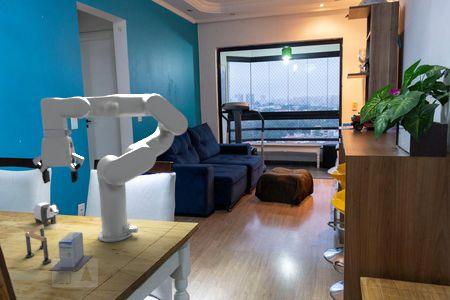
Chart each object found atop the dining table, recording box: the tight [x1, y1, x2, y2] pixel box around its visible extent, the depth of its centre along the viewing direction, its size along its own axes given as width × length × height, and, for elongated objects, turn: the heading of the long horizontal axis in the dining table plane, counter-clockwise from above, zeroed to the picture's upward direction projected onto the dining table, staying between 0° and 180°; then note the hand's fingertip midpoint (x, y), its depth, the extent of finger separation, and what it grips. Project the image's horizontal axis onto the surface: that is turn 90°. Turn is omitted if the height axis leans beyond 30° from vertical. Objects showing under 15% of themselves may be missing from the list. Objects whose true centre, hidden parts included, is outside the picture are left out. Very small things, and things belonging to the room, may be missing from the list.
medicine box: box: [58, 231, 85, 268], centre depth 108 cm, size 8×4×9 cm, turn 1°
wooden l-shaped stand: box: [24, 224, 52, 265], centre depth 114 cm, size 11×13×9 cm
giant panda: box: [32, 202, 59, 227], centre depth 144 cm, size 15×6×10 cm, turn 58°
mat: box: [49, 254, 93, 272], centre depth 108 cm, size 9×10×1 cm
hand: (60, 182), depth 118 cm, fingers open, 9 cm apart
